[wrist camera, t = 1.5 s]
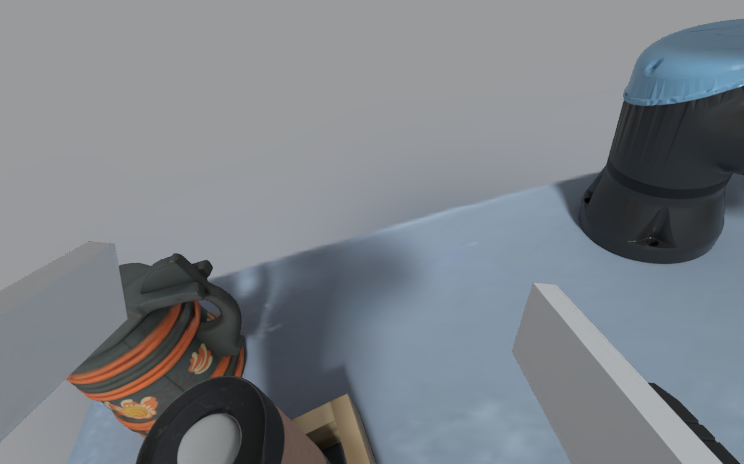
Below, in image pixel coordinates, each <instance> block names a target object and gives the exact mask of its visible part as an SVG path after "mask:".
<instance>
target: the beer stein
mask: <svg viewBox="0 0 744 464" xmlns="http://www.w3.org/2000/svg"><path fill="white" fill-rule="evenodd" d="M212 269H213V267H212V265H211V263H210V262H209V261H208V260H204V261H201V262H197V263H194V264H191V263H190V262H189V261H188V260H186V258H184V257H183V256H182V255H180V254H177V253H175V254H173V255H172V256H171V257H167V258H165V259H162V260H160V261H158V262H156V263H155V264H153V265H152V266H149V265H145V264H141V263H130V264H124V265H120V266H119V271H120V277H121V283H122V289H123V294H124V300H125V306H126V312H127V318H128V319H127V320H126V321H125V322H124V323H123V324H122V325H121V326H120V327H119V328H118V329H117V330H116V331H115V332H114V333H113V334H112V335H110V336H109V337H108V338H107V339H106V340H105V341H104V342H103V343H102V344H101V345H100V346H99V347H98V348H97V349H96V350H95V351H94V352H93V353H92V354H91V355H90V356H89V357H88V358H87V359H86V360H85V361H84V362H83V363H82V364H80V365H79V366H78V367H77V368H76V369H75V370H74V371H73V372H72V373H71V374H70V375H69V376H68V377H67V378H66V380H68V381H69V382H71V383H72V384H73V385H74V386H76V387H77V388H78V389H79V390H80V391H81V392H83V393H84V394H85V395H86V396H87V397H88V398H90V399H92V400H96V401H101V402H102V403H103V404H104V405H106V406H107V407H108V408H109V409H111V410H112V412H113V413H114V415H115V417H116V418H117V419H118V420H119V421H120V422H121V423H122V424H124V425H125V426H126V427H128V428H129V429H131V430H132V431H134V432H137V433H140V434H141V435H142V437H146V435H147V434H148V432H149V430H150V428H151V427H152V425H153V424H154V422H155V421H156V419H157V418H158V417H159V416H160V414H161V413H162V412H163V411H164V410H165V408H166V407H167V406H168V405H169V404H170V403H171V402H172V401H173V400H175V399H176V398H177V397H178V396H179V395H180V394H182V393H183V392H184V391H186V390H187V389H189V388H190V387H192V386H194V385H196V384H198V383H199V382H202V381H204V380H207V379H210V378H213V377H218V376H237V377H240V378H241V374H242V372H243V367H244V347H243V342H244V337H243V336H240V335H239V334H240V330H241V312H240V309H239V306H238V304H237V302H236V301H235V300H234V298H233V297H232V296H231V295H230V294H229V293H227V292H226V291H225V290H223V289H222V288H220V287H217V286H215V285H213V284H211V283H209V282H208V281H207V277H208V276H209V275H210V273H211V271H212ZM203 299H205V300H207V301H210V302H211V303H213V304H214V305H215V306H217V307H218V308H219V310H220V312H221V315H220V316H219V317H218V316H217V315H215V314H213V313H211V312H208V311H207V310H206V309H204V308H203V307H202V306H201V305H200V304H199V302H198V301H197V300H203Z"/></svg>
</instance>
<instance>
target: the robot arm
mask: <svg viewBox="0 0 744 464" xmlns="http://www.w3.org/2000/svg"><path fill="white" fill-rule="evenodd" d="M623 97H624V102H623V106H622V109H621V113H620V117H619V121H618V124H617V128H616V132H615V136H614V139H613V143H612V146H611V150H610V154H609V157H608V161H607V164H606V166H605V167H604V169H603V170H602V171H601V173H600V174H599V175H598V176H597V178H596V179H595V180H594V182H593V183H592V184H591V186H590V187H589V188H588V189H587V191H586V192H585V194H584V196H583V198H582V201H581V206H580V210H579V221H580V224H581V226H582V228H583V230H584V231H585V233H586V234H587V235H588V236H589V237H590V238H591V239H592V240H593V241H594V242H596V243H597V244H598V245H600V246H601V247H603V248H605V249H607V250H608V251H610V252H612V253H615V254H617V255H620V256H622V257H625V258H629V259H632V260H636V261H641V262H647V263H657V264H672V263H681V262H686V261H690V260H693V259H696V258H698V257H700V256H702V255H704V254H705V253H707V252H708V251H709V250H710V249H711V248H712V247H713V245H714V244H715V242H716V241H717V239H718V237H719V236H720V234H721V232H722V229H723V226H724V209H725V187H726V185H727V183H728V181H729V179H730V178H731V176H732V174H733V173H735V174H741V175H744V19H736V20H727V21H720V22H714V23H709V24H704V25H699V26H696V27H692V28H688V29H684V30H681V31H679V32H676V33H673V34H670V35H668V36H666V37H663V38H661V39H660V40H658V41H656V42H655V43H653V44H652V45H650V46H649V47H648V48H647V49H645V50H644V51H643V52H642V54H641V55H640V56H639V58H638V60H637V61H636V64H635V66H634V69H633V73H632V75H631V78H630V81H629V84H628V86H627V87H626V89H625V90H624V94H623ZM127 319H128V318H127V312H126V306H125V300H124V294H123V289H122V283H121V277H120V271H119V265H118V259H117V253H116V248H115V244H112V243H101V242H91V241H89V242H87V243H85V244H83V245H82V246H80V247H78V248H76V249H75V250H73V251H71V252H69V253H67V254H65V255H64V256H62V257H60V258H58V259H57V260H55V261H53V262H51V263H49V264H48V265H46V266H44V267H43V268H41V269H39V270H37V271H35V272H33V273H32V274H30V275H28V276H26V277H24V278H22V279H21V280H19V281H17V282H15V283H14V284H12V285H10V286H8V287H6V288H5V289H3V290H1V291H0V442H1V441H2V440H3V439H4V438H5V437H6V436H7V435H8V434H9V433H10V432H11V431H12V430H13V429H14V428H15V427H16V426H17V425H18V424H20V423H21V422H22V421H23V420H24V419H25V418H26V417H27V416H28V415H29V414H30V413H31V412H32V411H33V410H34V409H35V408H36V407H37V406H38V405H39V404H40V403H41V402H42V401H43V400H44V399H45V398H46V397H47V396H48V395H49V394H51V392H53V391H54V390H55V389H56V388H57V387H58V386H59V385H60V384H61V383H62V382H63V381H64V380H65V379H66V378H67V377H68V376H69V375H70V374H71V373H72V372H73V371H74V370H75V369H76V368H77V367H78V366H79V365H80V364H82V363H83V362H84V361H85V360H86V359H87V358H88V357H89V356H90V355H91V354H92V353H93V352H94V351H95V350H96V349H97V348H98V347H99V346H100V345H101V344H102V343H103V342H104V341H105V340H106V339H107V338H108V337H109V336H110V335H112V334H113V333H114V332H115V331H116V330H117V329H118V328H119V327H120V326H121V325H122V324H123V323H124V322H125V321H126V320H127ZM512 353H513V355H514V356H515V358H516V360H517V362H518V364H519V366H520V368H521V370H522V371H523V373H524V375H525V377H526V379H527V381H528V383H529V385H530V386H531V388H532V390H533V392H534V394H535V396H536V398H537V400H538V401H539V403H540V405H541V407H542V409H543V411H544V413H545V415H546V417H547V418H548V420H549V422H550V424H551V426H552V428H553V430H554V432H555V433H556V435H557V437H558V439H559V441H560V443H561V445H562V447H563V448H564V450H565V452H566V454H567V456H568V458H569V460H570V462H571V463H572V464H740V463H739V462H738V461H737V460H736V459H735V458H734V457H733V456H732V455H731V454H730V453H729V452H728V451H727V450H726V449H725V448H724V446H723V445H722V444H721V443H720V442H716V441H715V437H714V436H713V435H712V434H711V433H710V432H709V431H708V430H707V429H706V428H705V427H704V426H703V425H699V423H698V420H697V419H696V418H695V417H694V416H693V415H692V414H691V413H690V412H689V411H688V410H687V409H686V408H685V407H684V406H683V405H682V404H681V403H680V401H678V400H677V399H676V398H674V397H673V396H671V395H670V394H669V393H667V392H666V391H664V390H663V389H662V388H660V387H659V386H657V385H656V384H655V383H647V382H646V381H645V380H644V379H643V378H642V376H641V375H640V374H639V373H638V372H637V371H636V370H635V369H634V368H633V367H632V366H631V365H630V364H629V363H628V361H627V360H626V359H625V358H624V357H623V356H622V355H621V354H620V353H619V352H618V351H617V350H616V349H615V347H614V346H613V345H612V344H611V343H610V342H609V341H608V340H607V339H606V338H605V337H604V336H603V335H602V334H601V332H600V331H599V330H598V329H597V328H596V327H595V326H594V325H593V324H592V323H591V322H590V321H589V320H588V318H587V317H586V316H585V315H584V314H583V313H582V312H581V311H580V310H579V309H578V308H577V307H576V306H575V305H574V303H573V302H572V301H571V300H570V299H569V298H568V297H567V296H566V295H565V294H564V293H563V292H562V291H561V289H560V288H559V287H558V286H557V285H553V284H542V283H533V284H532V288H531V291H530V294H529V297H528V300H527V304H526V307H525V310H524V313H523V317H522V320H521V323H520V326H519V329H518V333H517V336H516V339H515V342H514V345H513V349H512Z"/></svg>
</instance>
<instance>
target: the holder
mask: <svg viewBox="0 0 744 464" xmlns="http://www.w3.org/2000/svg"><path fill="white" fill-rule="evenodd" d="M291 421H292V422H293V423H294V424H295V425H296V426H297V427H298V428H299V429H300V430H301V431H302V432H303V433H304V434H305V435H306V436H307V437H308V438H310V439H311V440H312V441H313V442H314V443H315V444H316V446H317V447H318V448H319V449H320V450H321V451H323V450H325V449H327V448H329V447H331V446H333V445H335V444H337V443H339V442H341V443H342V446H343V450H344V453H345V457H346V460H347V464H376V462H375V459H374V456H373V453H372V450H371V447H370V444H369V441H368V438H367V435H366V432H365V429H364V426H363V423H362V420H361V417H360V414H359V412H358V410H357V409H356V407H355V406H354V404H353V402H352V401H351V399H350V397H349V396H348V394H345V395H343V396H341V397H339V398H337V399H334V400H332V401H330V402H328V403H326V404H324V405H322V406H320V407H318V408H316V409H313V410H311V411H309V412H307V413H305V414H303V415H301V416H299V417H297V418H294V419H292V420H291Z"/></svg>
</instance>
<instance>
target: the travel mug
mask: <svg viewBox="0 0 744 464" xmlns="http://www.w3.org/2000/svg"><path fill="white" fill-rule="evenodd" d="M136 464H332V463H331V462H330V461H329V460H328V458H327V457H326V456H325V455H324V454H323V452H322V451H321V450H320V449H319V448H318V447H317V446H316V444H315V443H314V442H313V441H312V440H311V439H310V438H308V437H307V436H306V435H305V434H304V433H303V432H302V431H301V430H300V429H299V428H298V427H297V426H296V425H295V424H294V423H293V422H292V421H291V420H290V419H289V418H288V417H287V416H286V415H285V414H284V413H283V412H282V411H281V410H280V409H279V408H278V407H277V406H276V405H275V404H274V403H273V402H272V401H271V400H270V399H269V398H268V397H267V396H266V395H265V394H264V393H263V392H262V391H261V390H260V389H259V388H258V387H256V386H255V385H254V384H253V383H251V382H250V381H248V380H246V379H244V378H240V377H237V376H218V377H213V378H210V379H207V380H204V381H202V382H199V383H198V384H196V385H194V386H192V387H190V388H189V389H187V390H186V391H184V392H183V393H182V394H180V395H179V396H178V397H177V398H176V399H175V400H173V401H172V402H171V403H170V404H169V405H168V406H167V407H166V408H165V410H164V411H163V412H162V413H161V414H160V416H159V417H158V418H157V419H156V421H155V422H154V424H153V425H152V427H151V428H150V430H149V432H148V434H147V435H146V437H145V440H144V442H143V444H142V446H141V449H140V451H139V454H138V457H137V461H136Z"/></svg>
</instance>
